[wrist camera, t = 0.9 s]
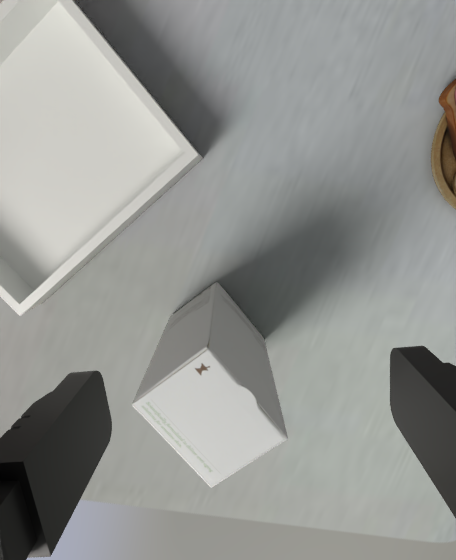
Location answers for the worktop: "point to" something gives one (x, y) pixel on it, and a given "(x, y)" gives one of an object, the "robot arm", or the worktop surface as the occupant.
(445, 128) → the toy sandwich meal
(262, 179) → the worktop surface
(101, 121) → the bin
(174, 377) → the skincare box
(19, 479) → the robot arm
